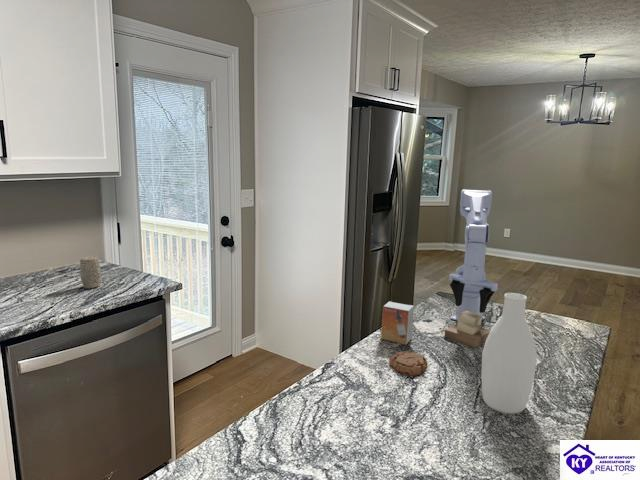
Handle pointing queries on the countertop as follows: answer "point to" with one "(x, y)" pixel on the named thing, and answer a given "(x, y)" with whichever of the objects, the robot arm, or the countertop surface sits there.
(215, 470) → the countertop surface
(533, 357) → the bottle
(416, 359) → the cookie
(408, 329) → the small box
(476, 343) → the walnut block
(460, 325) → the maple cube
